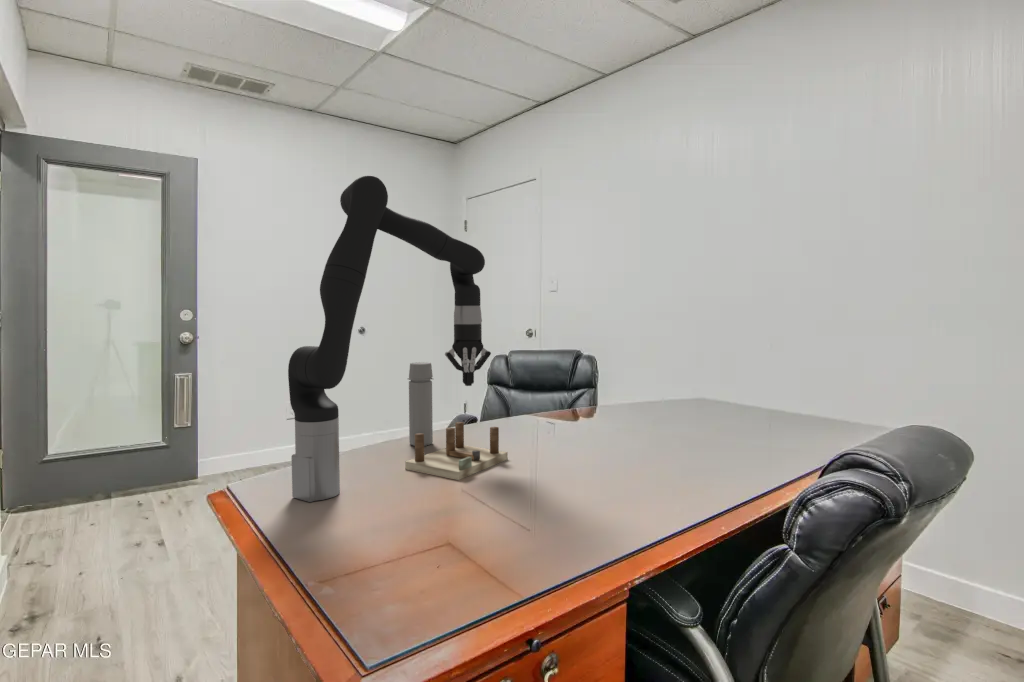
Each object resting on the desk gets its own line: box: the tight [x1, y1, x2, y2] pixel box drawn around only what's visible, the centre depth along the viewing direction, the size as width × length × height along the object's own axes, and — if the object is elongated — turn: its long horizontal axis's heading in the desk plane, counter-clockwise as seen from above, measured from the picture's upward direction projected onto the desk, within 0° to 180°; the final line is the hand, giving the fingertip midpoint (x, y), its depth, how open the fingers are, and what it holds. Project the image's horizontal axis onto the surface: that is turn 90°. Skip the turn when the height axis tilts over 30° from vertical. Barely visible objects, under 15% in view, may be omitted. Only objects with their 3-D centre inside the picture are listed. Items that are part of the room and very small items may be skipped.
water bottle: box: [407, 361, 434, 447], centre depth 170 cm, size 9×8×25 cm
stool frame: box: [404, 421, 509, 481], centre depth 148 cm, size 22×17×9 cm
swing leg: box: [445, 427, 480, 460], centre depth 147 cm, size 11×2×7 cm, turn 58°
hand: (468, 385), depth 152 cm, fingers closed
